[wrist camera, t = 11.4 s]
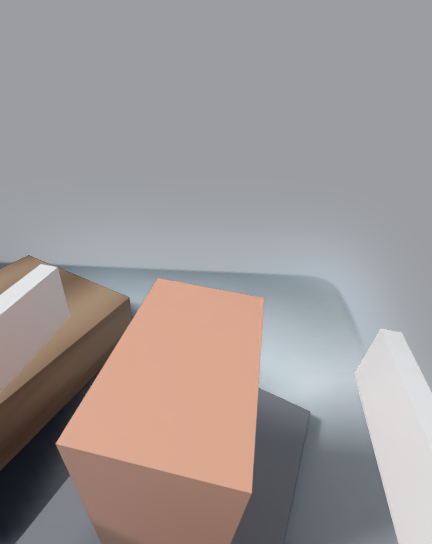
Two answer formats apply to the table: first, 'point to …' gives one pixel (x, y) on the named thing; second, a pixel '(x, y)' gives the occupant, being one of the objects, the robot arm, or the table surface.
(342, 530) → the table surface
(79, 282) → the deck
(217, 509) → the block
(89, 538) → the mat
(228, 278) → the table surface
